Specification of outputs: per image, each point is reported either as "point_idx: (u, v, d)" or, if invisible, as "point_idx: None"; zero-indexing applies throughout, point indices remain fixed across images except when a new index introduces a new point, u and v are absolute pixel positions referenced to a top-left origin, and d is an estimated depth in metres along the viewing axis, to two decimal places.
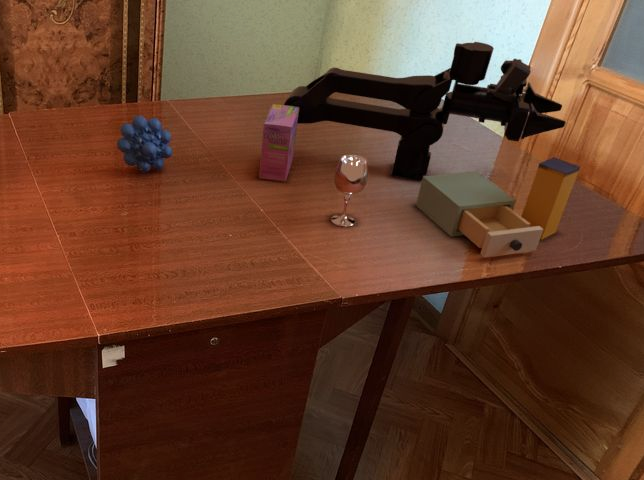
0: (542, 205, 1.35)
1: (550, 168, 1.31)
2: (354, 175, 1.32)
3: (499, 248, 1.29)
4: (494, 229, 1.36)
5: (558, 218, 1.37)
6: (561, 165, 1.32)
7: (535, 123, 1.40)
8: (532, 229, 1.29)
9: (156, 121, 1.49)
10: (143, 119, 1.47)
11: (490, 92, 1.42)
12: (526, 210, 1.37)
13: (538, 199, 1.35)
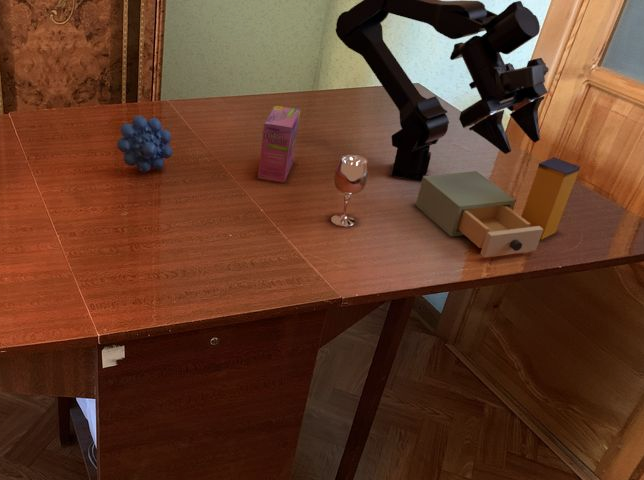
0: (542, 205, 1.35)
1: (550, 168, 1.31)
2: (354, 175, 1.32)
3: (499, 248, 1.29)
4: (494, 229, 1.36)
5: (558, 218, 1.37)
6: (561, 165, 1.32)
7: (491, 128, 1.34)
8: (532, 229, 1.29)
9: (156, 121, 1.49)
10: (143, 119, 1.47)
11: (496, 69, 1.33)
12: (526, 210, 1.37)
13: (538, 199, 1.35)
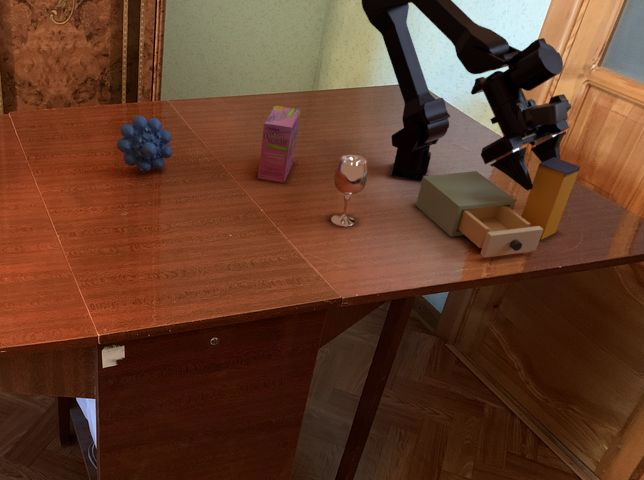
0: (542, 205, 1.35)
1: (550, 168, 1.31)
2: (354, 175, 1.32)
3: (499, 248, 1.29)
4: (494, 229, 1.36)
5: (558, 218, 1.37)
6: (561, 165, 1.32)
7: (512, 165, 1.33)
8: (532, 229, 1.29)
9: (156, 121, 1.49)
10: (143, 119, 1.47)
11: (518, 106, 1.32)
12: (526, 210, 1.37)
13: (538, 199, 1.35)
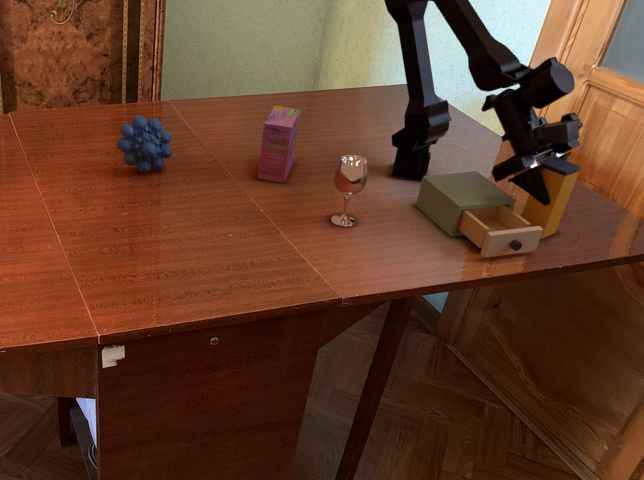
0: (542, 204, 1.35)
1: (551, 167, 1.31)
2: (354, 175, 1.32)
3: (499, 248, 1.29)
4: (494, 229, 1.36)
5: (558, 218, 1.37)
6: (563, 165, 1.32)
7: (530, 180, 1.33)
8: (532, 229, 1.29)
9: (156, 121, 1.49)
10: (143, 119, 1.47)
11: (529, 124, 1.31)
12: (526, 209, 1.37)
13: None
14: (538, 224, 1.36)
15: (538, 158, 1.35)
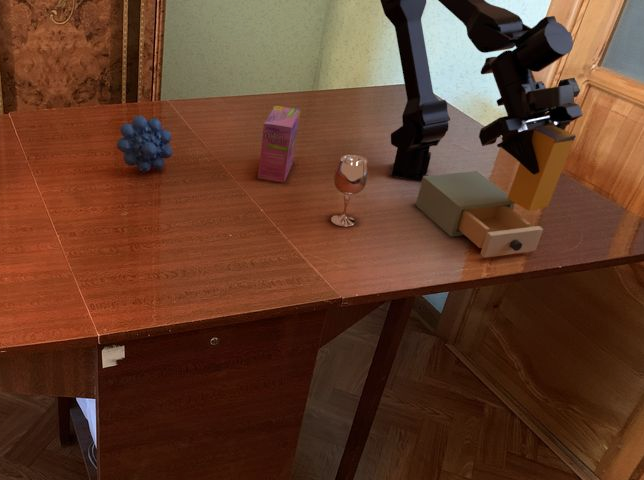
0: None
1: (542, 133, 1.25)
2: (354, 175, 1.32)
3: (499, 248, 1.29)
4: (494, 229, 1.36)
5: (550, 190, 1.31)
6: (555, 132, 1.26)
7: (520, 147, 1.28)
8: (532, 229, 1.29)
9: (156, 121, 1.49)
10: (143, 119, 1.47)
11: (523, 87, 1.26)
12: (517, 178, 1.32)
13: None
14: (527, 194, 1.31)
15: (532, 125, 1.29)
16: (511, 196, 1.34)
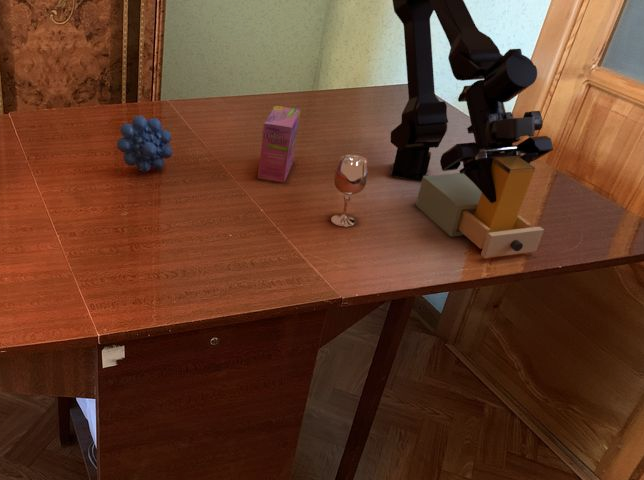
0: None
1: (500, 163, 1.27)
2: (354, 175, 1.32)
3: (500, 248, 1.29)
4: None
5: (511, 220, 1.31)
6: (515, 163, 1.27)
7: (480, 174, 1.30)
8: (533, 229, 1.29)
9: (156, 121, 1.49)
10: (143, 119, 1.47)
11: (487, 116, 1.28)
12: (479, 206, 1.33)
13: None
14: (486, 222, 1.32)
15: (497, 154, 1.30)
16: None
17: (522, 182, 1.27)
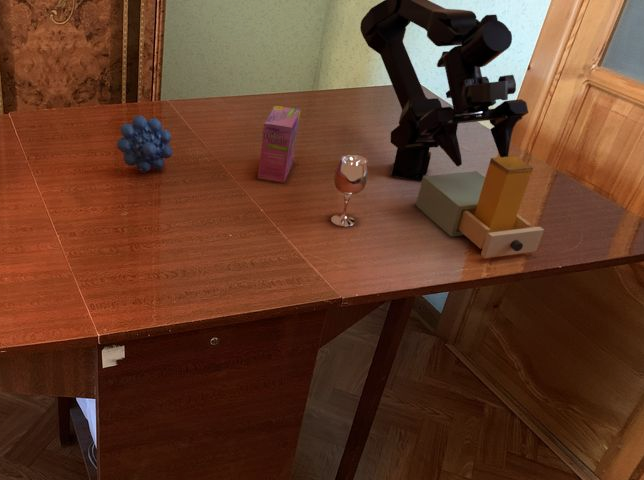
0: (489, 202, 1.30)
1: (498, 164, 1.27)
2: (354, 175, 1.32)
3: (500, 249, 1.29)
4: None
5: (510, 221, 1.31)
6: (513, 163, 1.27)
7: (447, 139, 1.35)
8: (533, 230, 1.29)
9: (156, 121, 1.49)
10: (143, 119, 1.47)
11: (464, 81, 1.33)
12: (478, 207, 1.33)
13: (487, 196, 1.31)
14: (485, 223, 1.32)
15: (464, 119, 1.35)
16: None
17: (520, 182, 1.27)
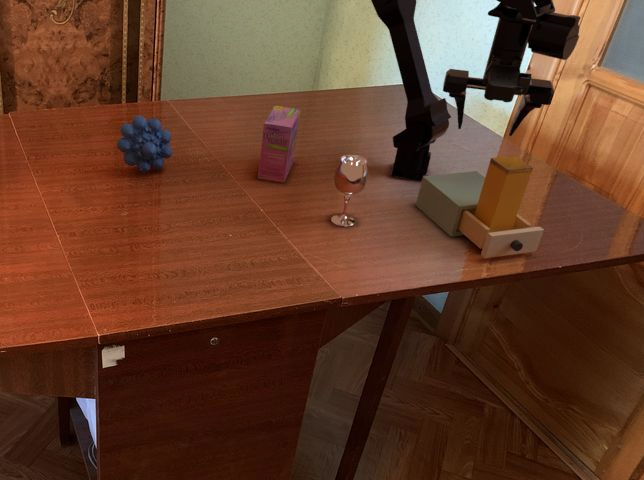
0: (489, 202, 1.30)
1: (498, 164, 1.27)
2: (354, 175, 1.32)
3: (500, 249, 1.29)
4: None
5: (510, 221, 1.31)
6: (513, 163, 1.27)
7: None
8: (533, 230, 1.29)
9: (156, 121, 1.49)
10: (143, 119, 1.47)
11: (492, 58, 1.33)
12: (478, 207, 1.33)
13: (487, 196, 1.31)
14: (485, 223, 1.32)
15: (484, 88, 1.38)
16: None
17: (520, 182, 1.27)
